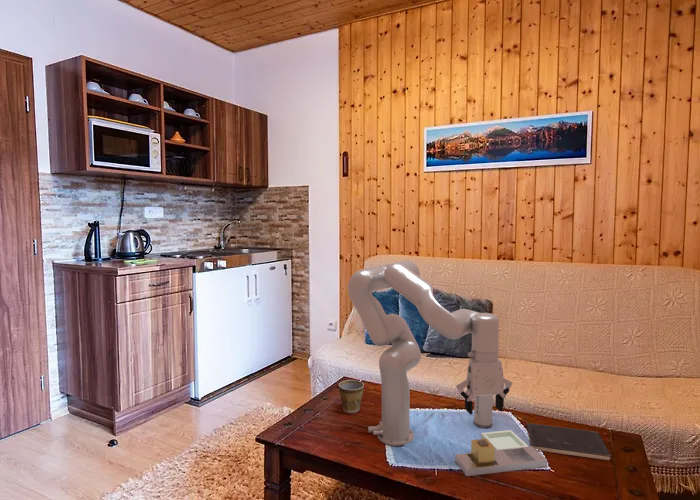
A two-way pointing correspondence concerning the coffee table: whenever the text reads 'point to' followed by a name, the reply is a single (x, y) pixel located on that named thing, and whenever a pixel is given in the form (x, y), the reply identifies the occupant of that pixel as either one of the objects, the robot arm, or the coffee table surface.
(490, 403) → the travel mug
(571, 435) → the hardcover book
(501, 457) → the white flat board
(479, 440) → the block
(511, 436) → the tray
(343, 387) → the ceramic cup
